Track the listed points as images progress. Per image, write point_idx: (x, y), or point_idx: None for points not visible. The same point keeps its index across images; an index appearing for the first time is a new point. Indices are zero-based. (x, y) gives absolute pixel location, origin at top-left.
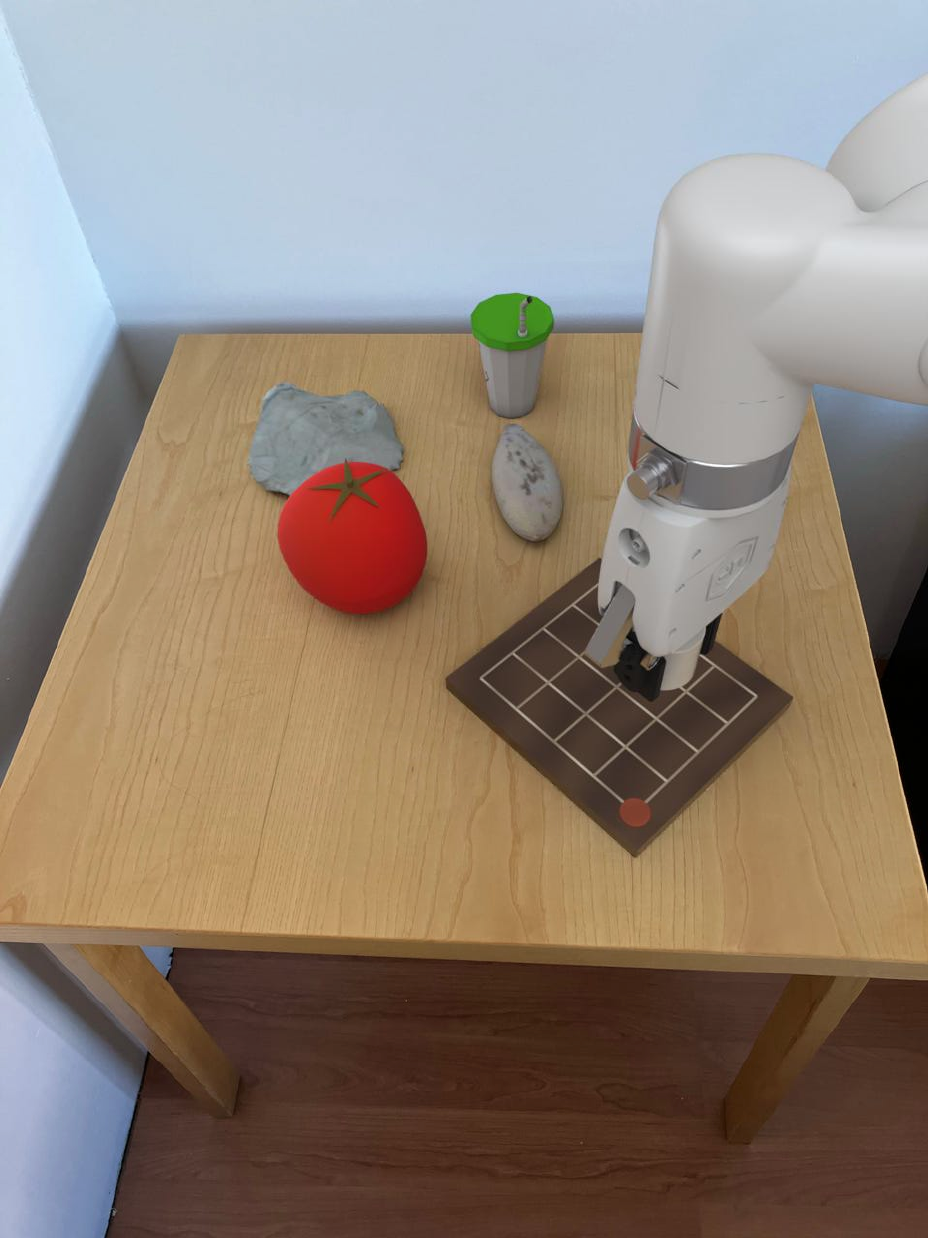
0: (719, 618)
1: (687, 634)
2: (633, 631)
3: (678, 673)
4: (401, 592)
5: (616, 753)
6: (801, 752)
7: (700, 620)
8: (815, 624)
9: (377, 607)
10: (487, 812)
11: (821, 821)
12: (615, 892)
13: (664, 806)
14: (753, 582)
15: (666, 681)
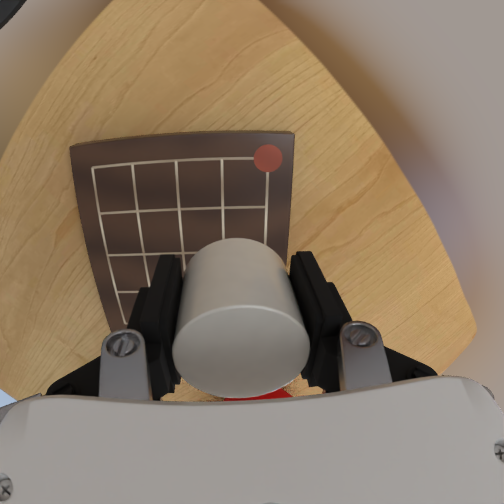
0: (148, 314)
1: (425, 415)
2: (326, 390)
3: (267, 267)
4: (262, 395)
5: (233, 208)
6: (101, 105)
7: (388, 448)
8: (13, 189)
9: (278, 392)
10: (336, 239)
11: (142, 49)
12: (324, 125)
13: (243, 144)
14: (77, 410)
15: (279, 265)
